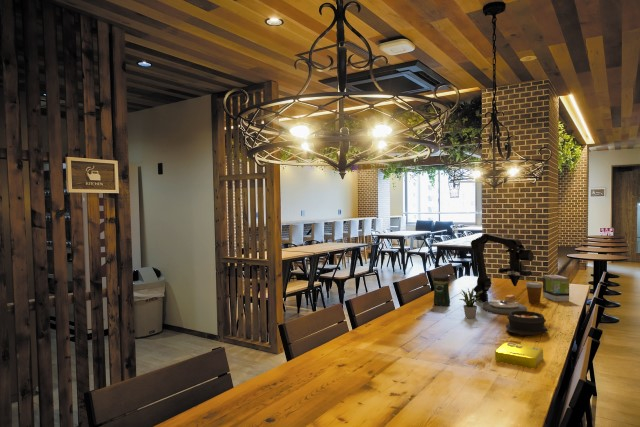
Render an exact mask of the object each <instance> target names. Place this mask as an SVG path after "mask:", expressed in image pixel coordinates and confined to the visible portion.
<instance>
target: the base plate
mask: <svg viewBox="0 0 640 427" xmlns="http://www.w3.org/2000/svg"><path fill="white" fill-rule="evenodd" d="M489 302H490V301H489ZM489 302H488V301H487V302H483V303H482V305H481V308H482V311H484V310H485V311H484V312H487V311H488V312H487V313H490V312H492V313H491V314H496V313H497V314H496V315H507V316H509V313H510V312H513V311H528V307H527V306H525V305H523V304H521V303H519V307H518V308H514V309H503V308H495V307H492V306H490V305H489Z"/></svg>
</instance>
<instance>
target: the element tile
mask: <svg viewBox="0 0 640 427" xmlns="http://www.w3.org/2000/svg"><path fill="white" fill-rule="evenodd" d="M494 360H496V361H495V362H497V361H498V363H500V362H503V363H502V364H505V363H507V364H506V365H510V364H512V365H511V366H515V365H517V366H516V367H520V366H522V368H525V367H527V368H526V369H531V368H535V369H537V368H538V367H539V365H540V364H541V363H542V362H543V360H544V349H543V348H541V347H537V346H532V345H526V344H518V343H515V342H507V341H506V342H504V343H502V344H501V345H500V346H499V347H497V349H495V350H494ZM541 361H542V362H541ZM536 367H537V368H536Z"/></svg>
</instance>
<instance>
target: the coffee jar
mask: <svg viewBox="0 0 640 427" xmlns="http://www.w3.org/2000/svg"><path fill="white" fill-rule="evenodd" d="M432 282H433V288H434V289H433V290H434V291H433V292H434V293H433V305H435V304H436V305H435V306H440V305H445V306H444V307H446V305H448V306H449V305H451V300H450V299H451V297H450V290H449V284H450V277H449V275H446V274H435V275H433V279H432Z"/></svg>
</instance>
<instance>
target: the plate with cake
mask: <svg viewBox="0 0 640 427" xmlns="http://www.w3.org/2000/svg"><path fill="white" fill-rule="evenodd" d="M506 295H507V294H506ZM515 297H516V295H515V294H508V295H507V296H504V299H496V300H495V299H494V300H489V305H490V306H492V307H495V308H503V309H514V308H518V307H519V304H520V303H519V302H516V301H515V300H516V298H515Z"/></svg>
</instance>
